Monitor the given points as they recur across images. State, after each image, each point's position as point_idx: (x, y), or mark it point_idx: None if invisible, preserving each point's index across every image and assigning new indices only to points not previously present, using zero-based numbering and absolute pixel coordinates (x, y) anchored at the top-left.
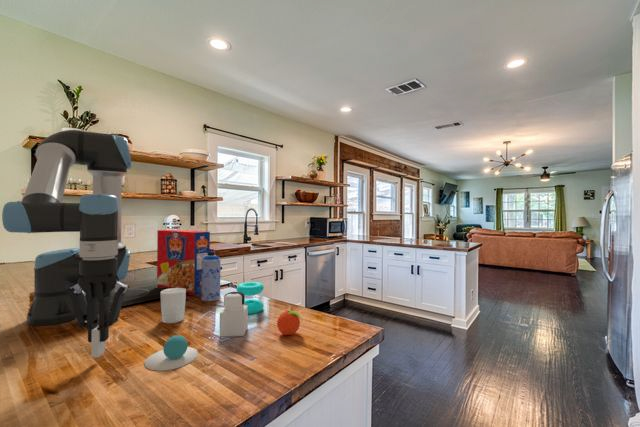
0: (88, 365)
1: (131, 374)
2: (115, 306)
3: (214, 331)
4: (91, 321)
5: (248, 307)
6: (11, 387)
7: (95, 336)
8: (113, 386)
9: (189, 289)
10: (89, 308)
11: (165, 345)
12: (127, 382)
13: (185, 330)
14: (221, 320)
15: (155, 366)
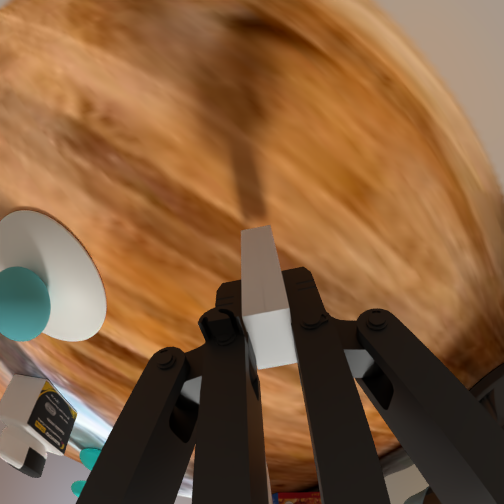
0: (279, 211)
1: (65, 174)
2: (96, 480)
3: (82, 402)
4: (306, 360)
5: (90, 459)
6: (420, 66)
7: (260, 285)
8: (65, 98)
9: (292, 500)
10: (351, 464)
11: (12, 292)
12: (43, 130)
13: None
14: (29, 409)
15: (35, 228)
